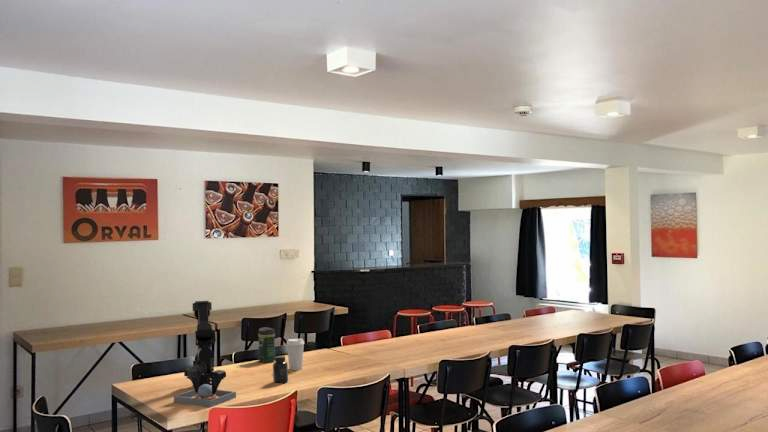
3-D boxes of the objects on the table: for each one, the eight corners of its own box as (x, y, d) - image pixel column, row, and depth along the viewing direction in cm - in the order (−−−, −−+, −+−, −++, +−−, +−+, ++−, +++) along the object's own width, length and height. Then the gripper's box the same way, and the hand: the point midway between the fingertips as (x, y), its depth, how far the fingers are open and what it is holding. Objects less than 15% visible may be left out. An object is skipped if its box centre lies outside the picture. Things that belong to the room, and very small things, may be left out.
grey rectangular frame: (173, 401, 272) (173, 396, 272) (200, 393, 286) (200, 387, 286) (210, 407, 263) (210, 400, 263) (236, 397, 277) (235, 391, 277)
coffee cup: (301, 371, 327) (301, 341, 328) (283, 370, 329) (283, 341, 330) (307, 367, 337) (307, 338, 337) (290, 366, 339) (289, 338, 339)
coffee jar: (277, 361, 352) (277, 327, 353) (264, 363, 347) (264, 329, 348) (269, 359, 360) (268, 325, 360) (256, 360, 355) (255, 327, 355)
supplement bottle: (288, 380, 308) (288, 355, 308) (287, 383, 301) (286, 357, 301) (274, 380, 308) (274, 355, 308) (272, 384, 301) (271, 358, 301)
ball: (195, 399, 273) (194, 385, 273) (204, 396, 279) (204, 382, 279) (205, 400, 270) (205, 386, 271) (215, 397, 276) (215, 383, 276)
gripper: (174, 358, 272) (174, 395, 272) (208, 362, 263) (208, 400, 263) (193, 354, 282) (193, 389, 282) (226, 357, 273) (227, 394, 273)
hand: (205, 393), depth 275 cm, fingers open, 9 cm apart
